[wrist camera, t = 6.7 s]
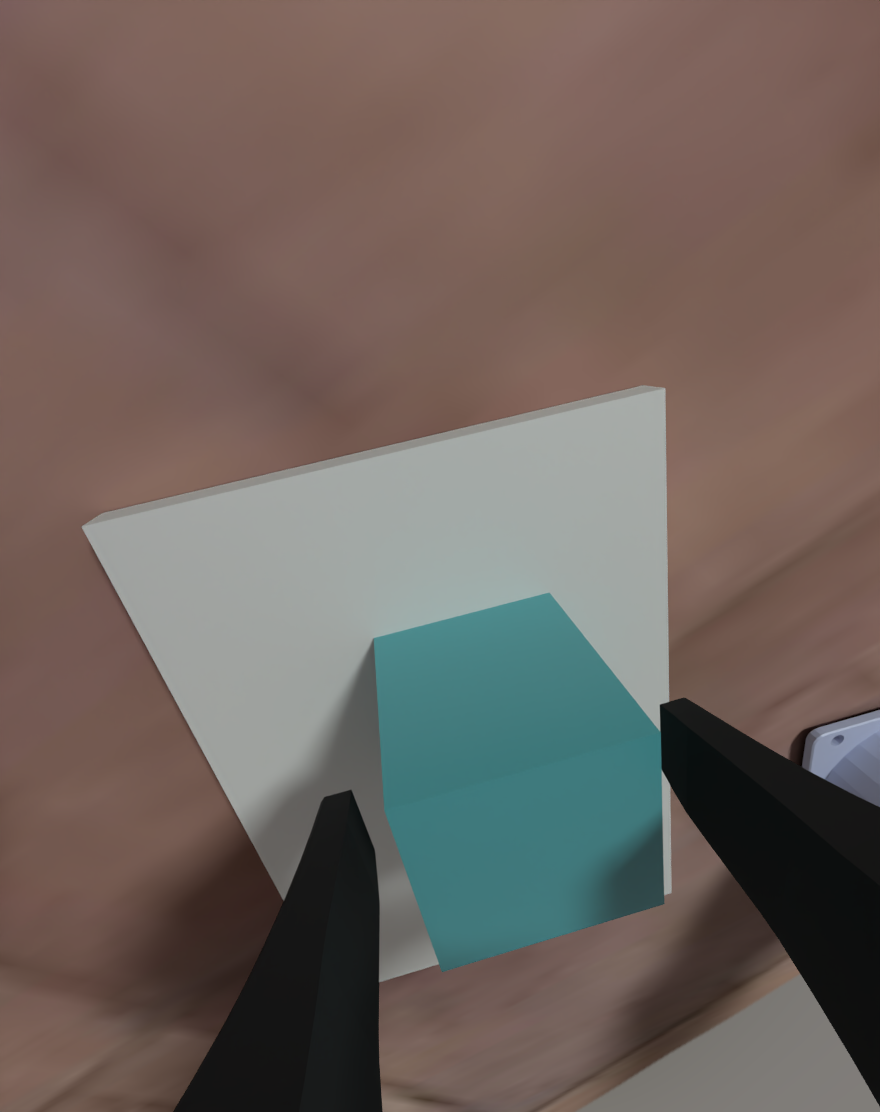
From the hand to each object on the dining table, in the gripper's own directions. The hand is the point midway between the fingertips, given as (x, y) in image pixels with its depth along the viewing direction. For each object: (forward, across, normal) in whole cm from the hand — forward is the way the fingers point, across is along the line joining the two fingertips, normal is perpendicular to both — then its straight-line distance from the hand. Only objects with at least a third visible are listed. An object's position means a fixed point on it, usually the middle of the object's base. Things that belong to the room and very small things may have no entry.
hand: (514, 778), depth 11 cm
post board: (+5, +1, +3) cm, 6 cm away
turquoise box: (+4, 0, 0) cm, 4 cm away
